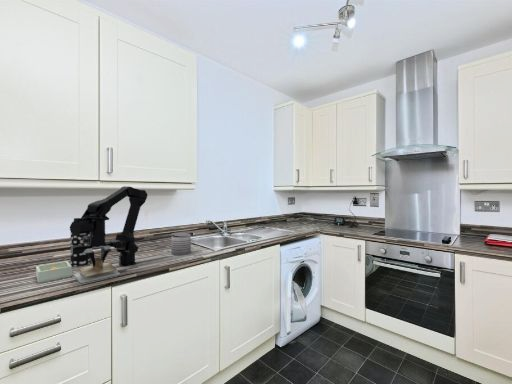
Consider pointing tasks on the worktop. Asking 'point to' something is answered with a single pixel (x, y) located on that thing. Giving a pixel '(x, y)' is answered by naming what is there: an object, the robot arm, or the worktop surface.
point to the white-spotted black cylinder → (79, 258)
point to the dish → (53, 271)
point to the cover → (97, 268)
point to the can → (180, 244)
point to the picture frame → (95, 276)
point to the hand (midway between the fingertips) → (97, 265)
